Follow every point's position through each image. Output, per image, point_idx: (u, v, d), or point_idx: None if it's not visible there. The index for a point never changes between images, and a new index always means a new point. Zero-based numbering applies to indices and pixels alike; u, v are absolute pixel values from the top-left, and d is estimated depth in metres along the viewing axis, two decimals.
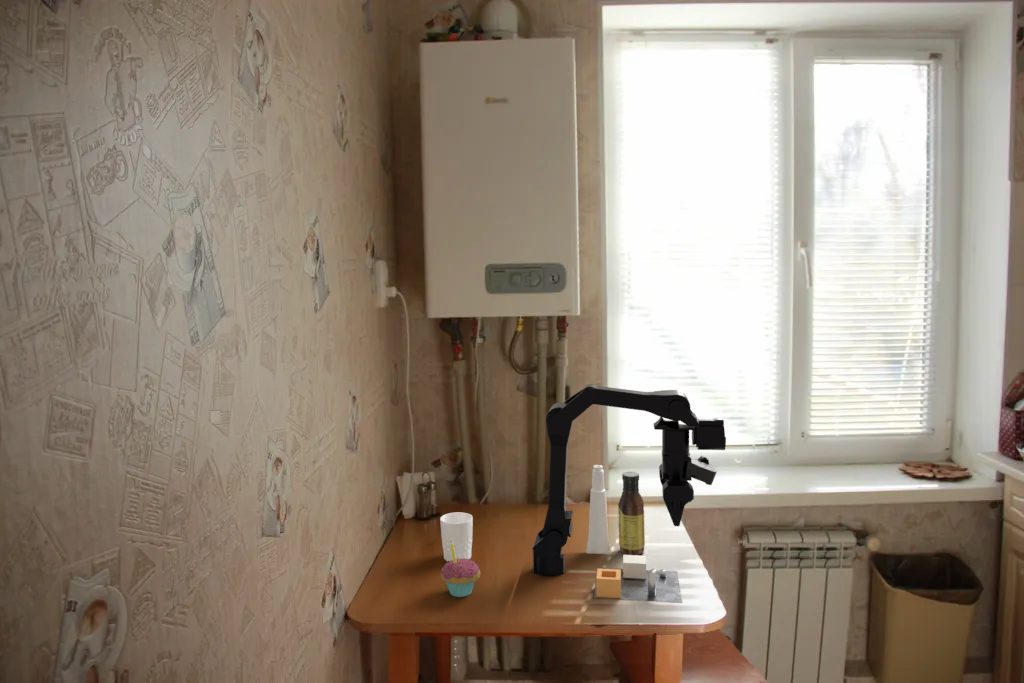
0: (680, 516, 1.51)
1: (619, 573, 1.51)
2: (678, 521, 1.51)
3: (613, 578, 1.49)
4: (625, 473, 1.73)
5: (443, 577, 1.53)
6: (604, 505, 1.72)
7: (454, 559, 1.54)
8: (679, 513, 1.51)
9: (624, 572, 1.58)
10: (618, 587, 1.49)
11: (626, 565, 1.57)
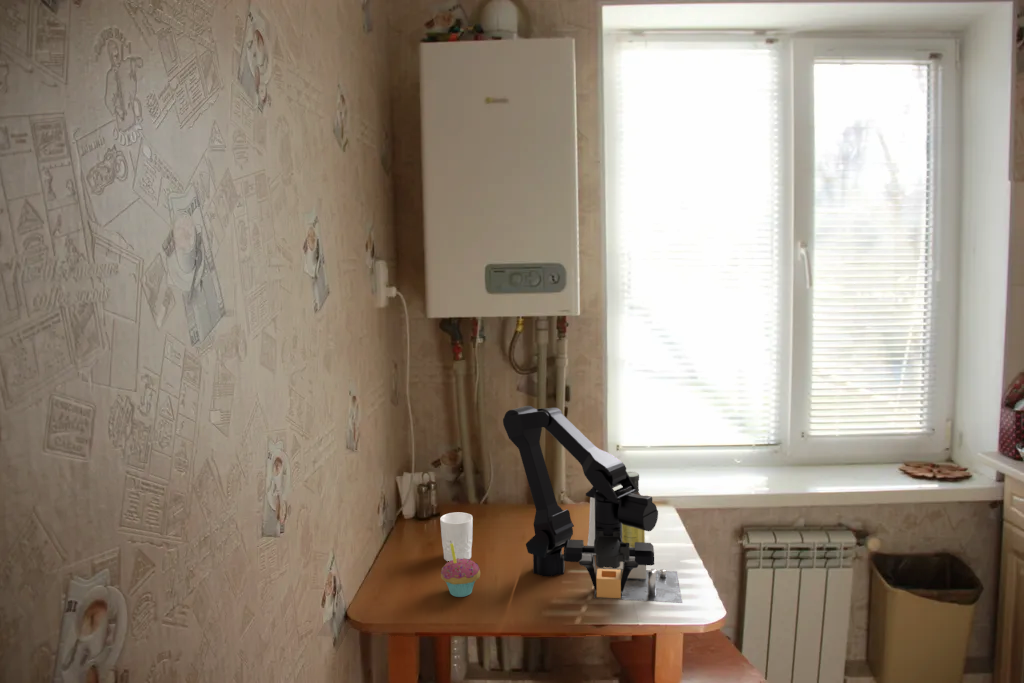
0: None
1: (619, 573, 1.51)
2: None
3: (613, 578, 1.49)
4: None
5: (443, 577, 1.53)
6: None
7: (454, 559, 1.54)
8: None
9: None
10: (618, 587, 1.49)
11: None
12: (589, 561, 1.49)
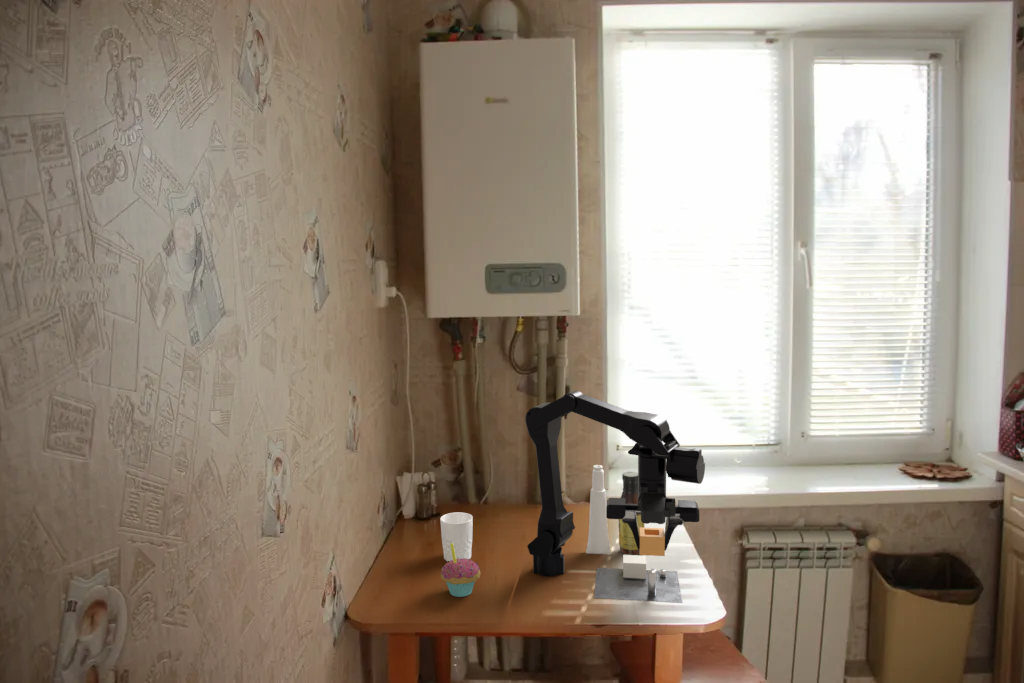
0: (634, 538, 1.49)
1: (662, 531, 1.49)
2: (636, 543, 1.49)
3: (657, 536, 1.47)
4: (625, 473, 1.73)
5: (443, 577, 1.53)
6: (604, 505, 1.72)
7: (454, 559, 1.54)
8: None
9: (624, 572, 1.58)
10: (662, 544, 1.46)
11: (626, 565, 1.57)
12: (632, 518, 1.47)
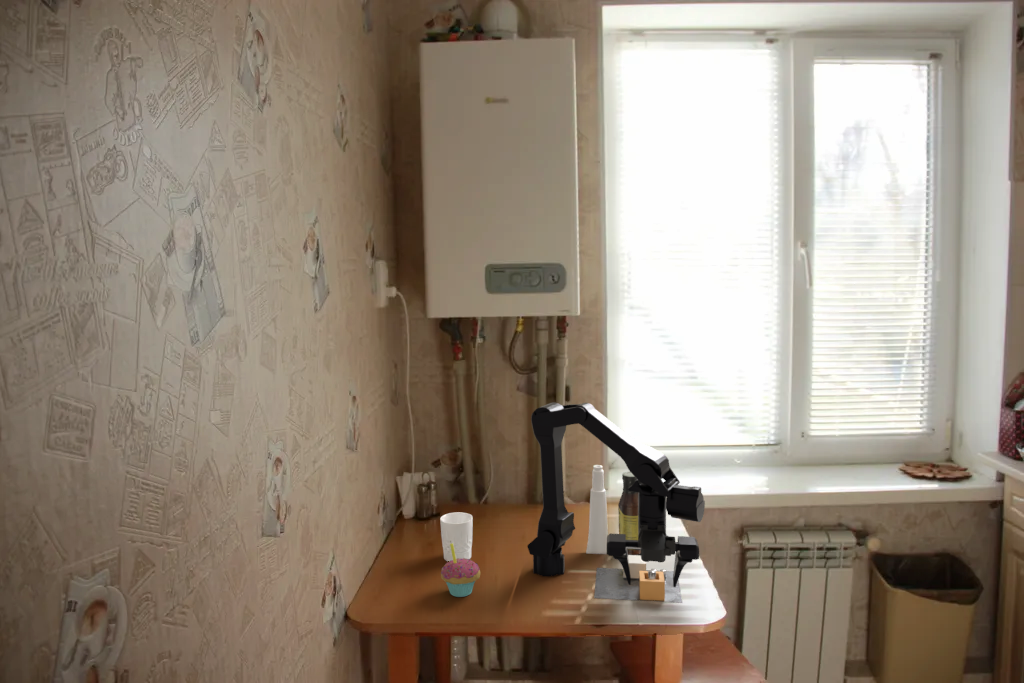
0: (625, 574, 1.50)
1: (662, 575, 1.50)
2: (627, 579, 1.50)
3: (657, 580, 1.48)
4: (625, 473, 1.73)
5: (443, 577, 1.53)
6: (604, 505, 1.72)
7: (454, 559, 1.54)
8: (624, 570, 1.50)
9: (624, 572, 1.58)
10: (662, 589, 1.47)
11: None
12: (623, 555, 1.48)
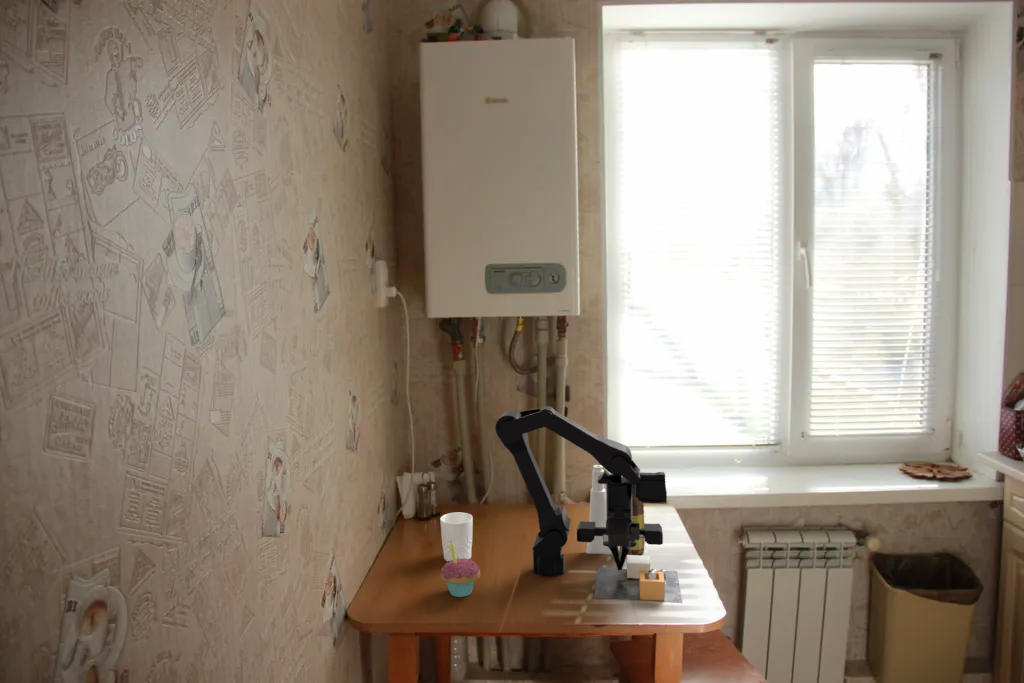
0: None
1: (662, 575, 1.50)
2: None
3: (657, 580, 1.48)
4: None
5: (443, 577, 1.53)
6: (604, 505, 1.72)
7: (454, 559, 1.54)
8: (613, 556, 1.59)
9: (628, 572, 1.57)
10: (662, 589, 1.47)
11: (630, 565, 1.57)
12: None
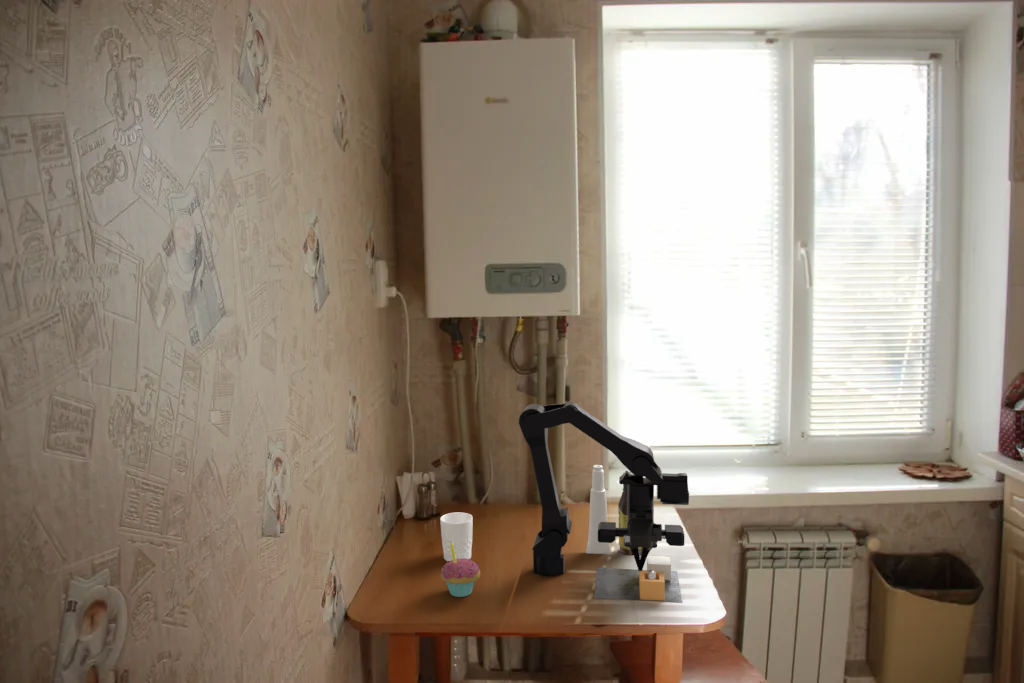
0: None
1: (662, 575, 1.50)
2: (637, 565, 1.59)
3: (657, 580, 1.48)
4: None
5: (443, 577, 1.53)
6: (604, 505, 1.72)
7: (454, 559, 1.54)
8: (634, 557, 1.59)
9: None
10: (662, 589, 1.47)
11: (650, 566, 1.57)
12: None
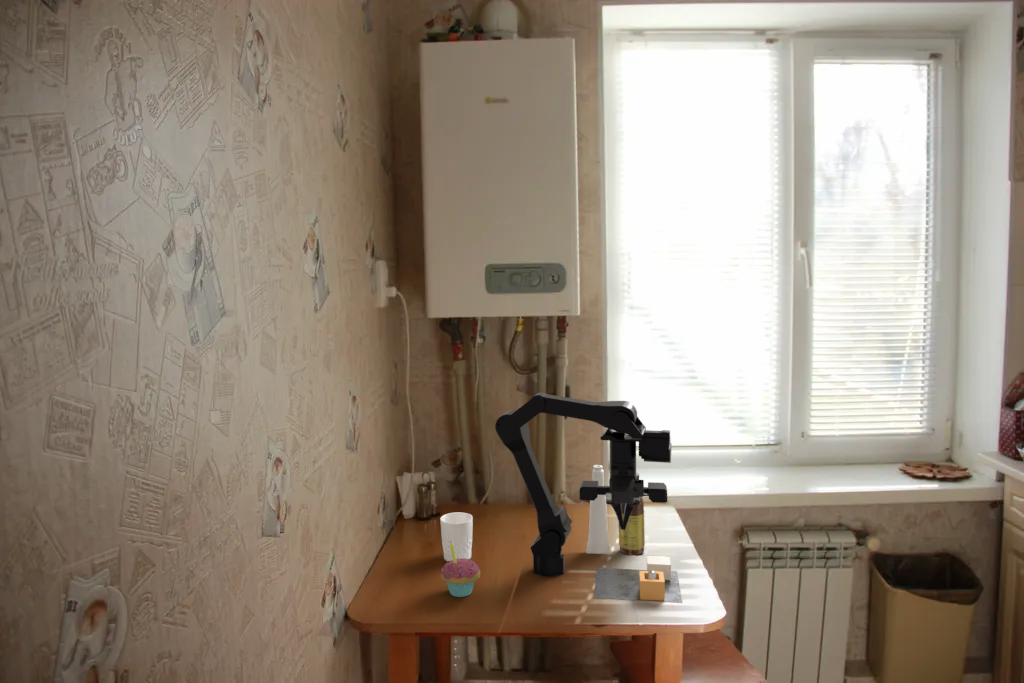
0: (618, 519, 1.56)
1: (662, 575, 1.50)
2: None
3: (657, 580, 1.48)
4: None
5: (443, 577, 1.53)
6: (604, 505, 1.72)
7: (454, 559, 1.54)
8: (617, 515, 1.56)
9: None
10: (662, 589, 1.47)
11: (650, 566, 1.57)
12: None
